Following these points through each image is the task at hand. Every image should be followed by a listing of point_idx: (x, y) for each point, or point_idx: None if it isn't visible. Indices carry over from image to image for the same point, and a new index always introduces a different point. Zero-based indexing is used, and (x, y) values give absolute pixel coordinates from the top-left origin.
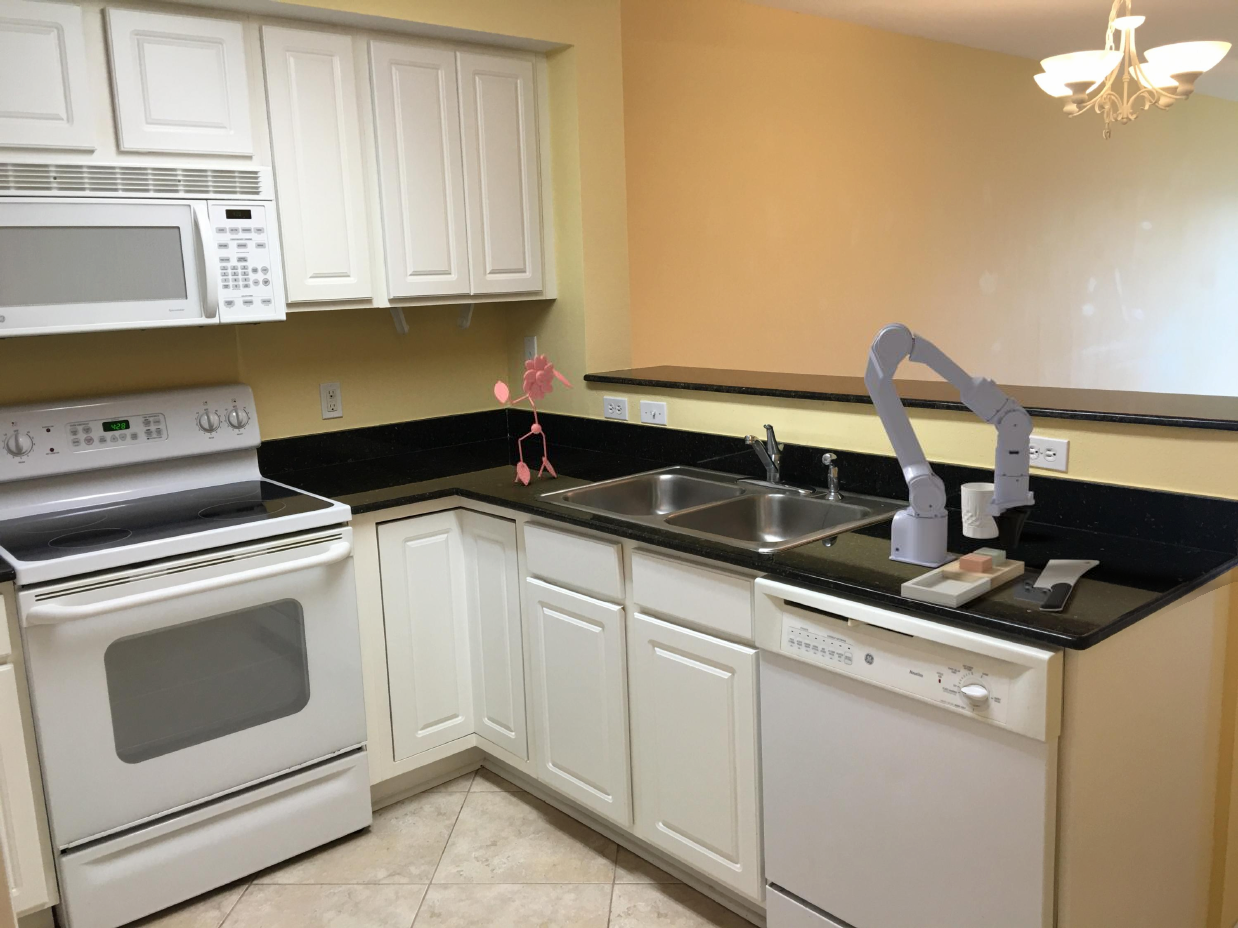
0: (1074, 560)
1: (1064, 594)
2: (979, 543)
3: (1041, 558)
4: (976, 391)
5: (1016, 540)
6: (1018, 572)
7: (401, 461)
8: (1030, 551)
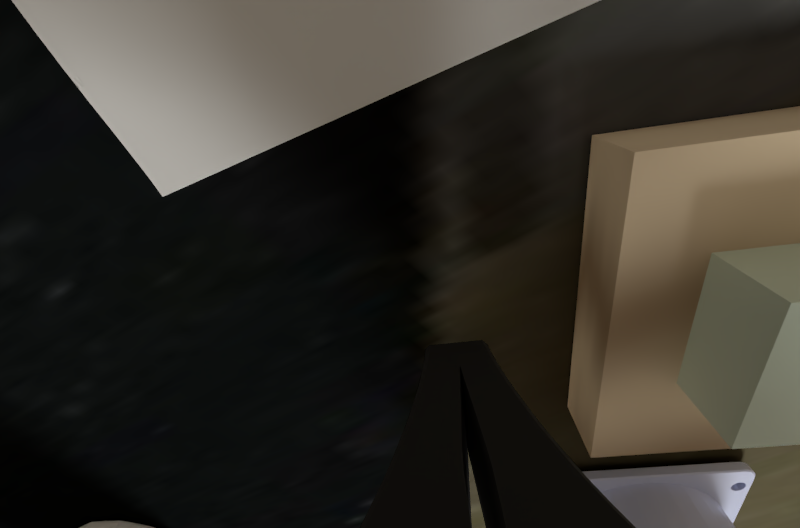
0: (47, 18)
1: None
2: (238, 515)
3: (190, 246)
4: None
5: (474, 382)
6: (706, 125)
7: None
8: (135, 351)
